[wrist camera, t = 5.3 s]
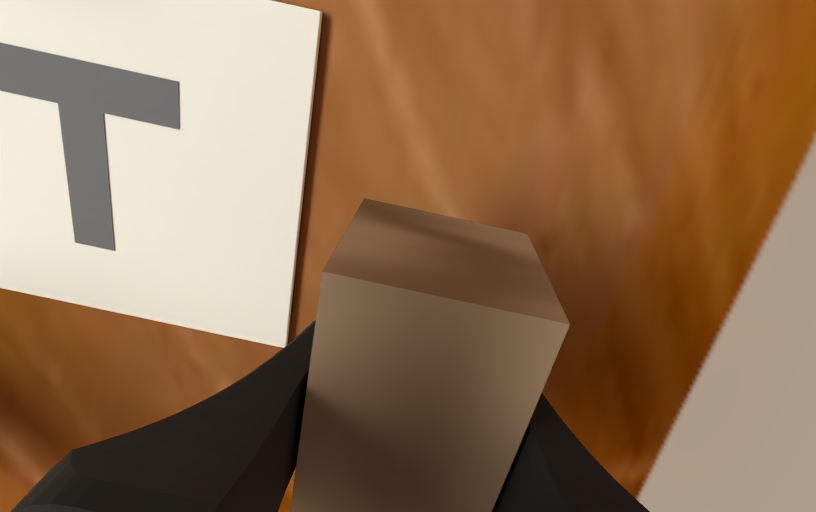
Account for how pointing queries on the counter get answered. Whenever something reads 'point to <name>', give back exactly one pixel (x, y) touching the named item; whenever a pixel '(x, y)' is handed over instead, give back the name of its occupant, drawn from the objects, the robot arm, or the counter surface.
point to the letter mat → (157, 157)
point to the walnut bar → (423, 364)
